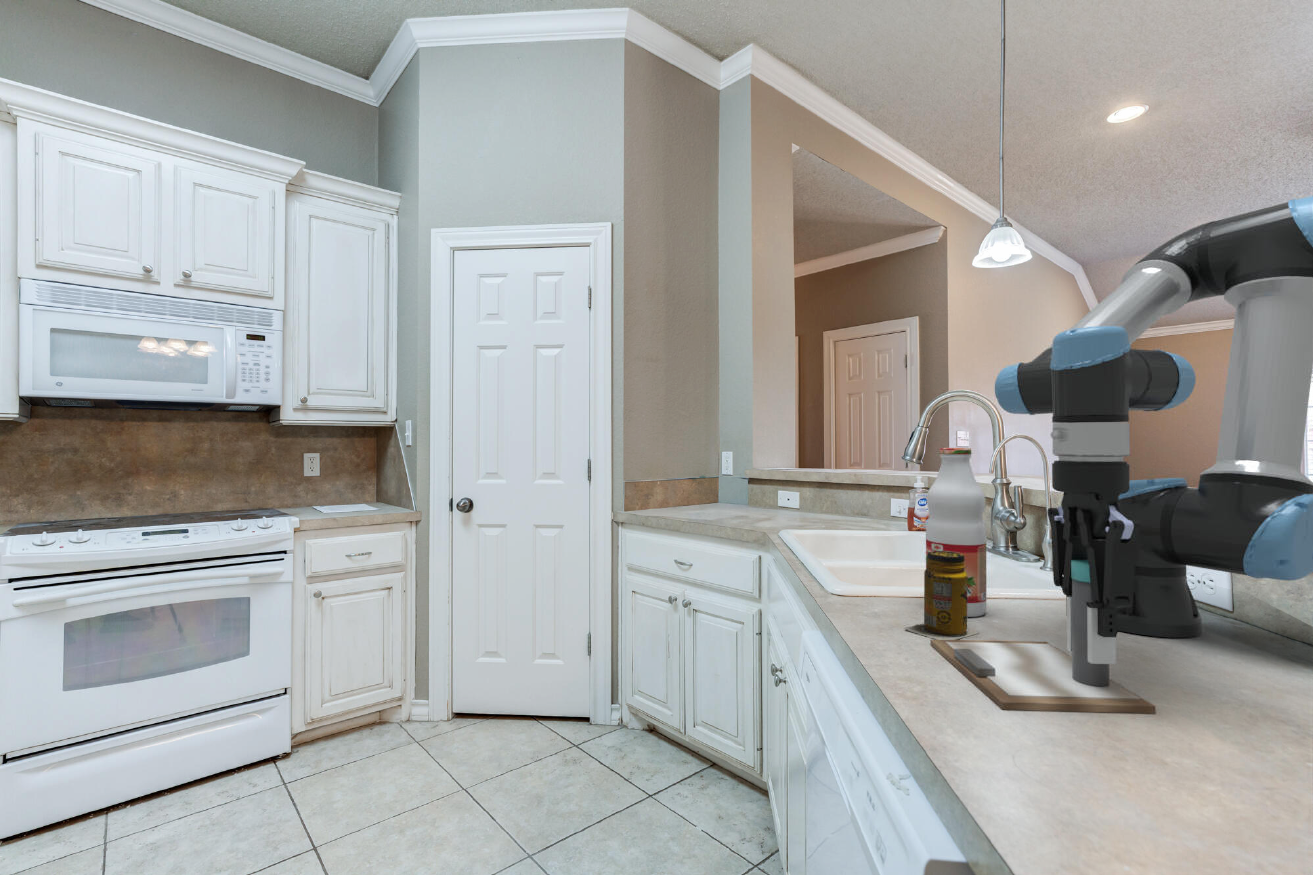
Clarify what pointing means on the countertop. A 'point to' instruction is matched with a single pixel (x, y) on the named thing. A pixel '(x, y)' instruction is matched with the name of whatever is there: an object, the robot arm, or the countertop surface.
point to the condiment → (944, 598)
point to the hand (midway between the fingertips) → (1090, 656)
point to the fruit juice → (959, 522)
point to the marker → (1083, 629)
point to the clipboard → (1034, 678)
